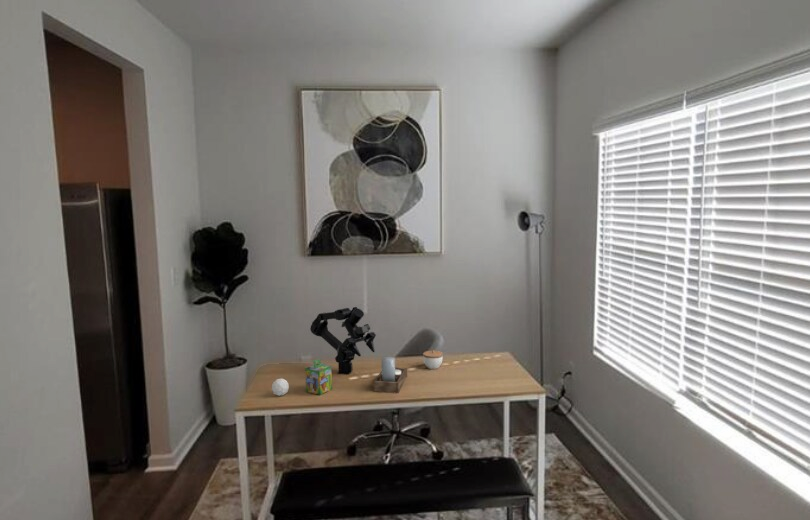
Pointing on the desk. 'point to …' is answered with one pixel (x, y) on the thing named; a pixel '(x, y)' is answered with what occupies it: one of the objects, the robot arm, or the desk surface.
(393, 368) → the pale blue cylinder
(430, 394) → the desk surface
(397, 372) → the bowl
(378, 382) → the brown wooden tray
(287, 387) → the geometric ball
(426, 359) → the lidded jar
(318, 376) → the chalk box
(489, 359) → the desk surface
